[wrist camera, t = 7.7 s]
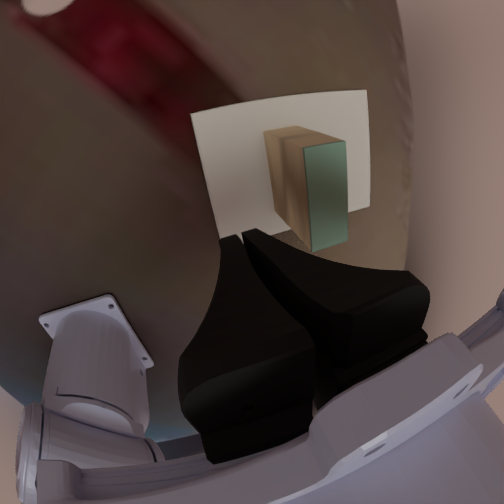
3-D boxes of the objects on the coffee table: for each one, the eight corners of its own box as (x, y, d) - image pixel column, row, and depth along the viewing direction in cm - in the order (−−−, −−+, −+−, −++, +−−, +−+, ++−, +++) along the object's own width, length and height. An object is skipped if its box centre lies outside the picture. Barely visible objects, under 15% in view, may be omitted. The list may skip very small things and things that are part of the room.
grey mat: (365, 203, 24) (369, 206, 24) (221, 245, 22) (223, 249, 22) (361, 89, 19) (366, 90, 18) (190, 113, 17) (191, 114, 16)
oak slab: (304, 203, 22) (347, 240, 17) (275, 211, 21) (312, 252, 16) (296, 125, 18) (345, 141, 14) (263, 131, 18) (304, 148, 13)
